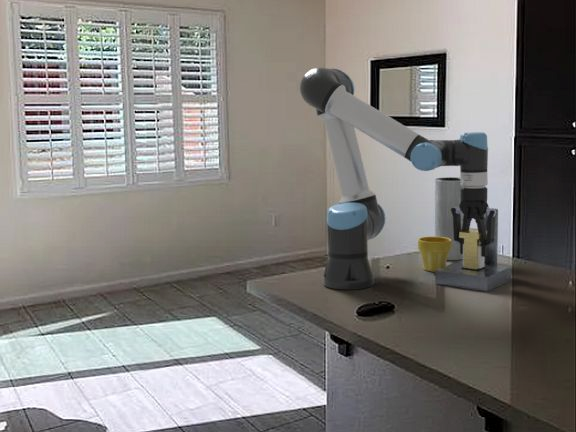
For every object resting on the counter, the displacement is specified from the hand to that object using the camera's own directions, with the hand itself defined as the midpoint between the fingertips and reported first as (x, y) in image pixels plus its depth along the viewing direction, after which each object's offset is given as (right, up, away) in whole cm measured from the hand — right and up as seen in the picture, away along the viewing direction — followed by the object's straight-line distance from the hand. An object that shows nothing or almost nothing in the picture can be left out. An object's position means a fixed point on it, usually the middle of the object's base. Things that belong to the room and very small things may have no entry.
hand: (473, 266), depth 197 cm
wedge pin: (0, 0, 0) cm, 0 cm away
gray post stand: (+2, -4, +3) cm, 5 cm away
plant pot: (-8, -2, +18) cm, 19 cm away
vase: (+1, 0, +34) cm, 34 cm away
